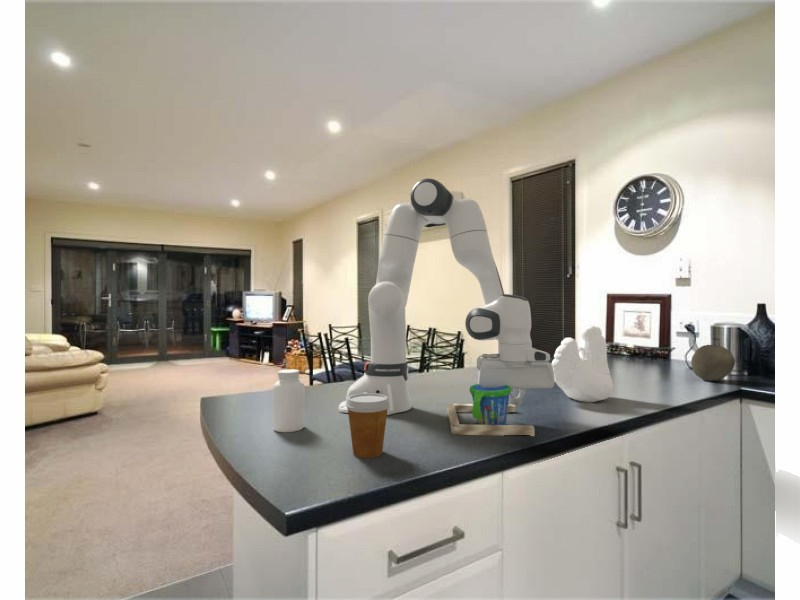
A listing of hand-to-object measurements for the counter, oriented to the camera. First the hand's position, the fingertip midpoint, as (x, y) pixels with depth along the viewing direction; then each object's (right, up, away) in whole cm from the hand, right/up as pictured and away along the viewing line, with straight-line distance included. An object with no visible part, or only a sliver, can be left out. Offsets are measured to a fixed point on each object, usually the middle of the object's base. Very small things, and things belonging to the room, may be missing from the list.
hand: (515, 404), depth 116 cm
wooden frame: (-8, -5, 0) cm, 9 cm away
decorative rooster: (+28, -5, +26) cm, 38 cm away
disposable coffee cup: (-39, -5, -24) cm, 46 cm away
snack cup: (-7, -5, -3) cm, 9 cm away
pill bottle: (-61, -5, -5) cm, 61 cm away
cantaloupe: (+98, -5, +60) cm, 115 cm away
